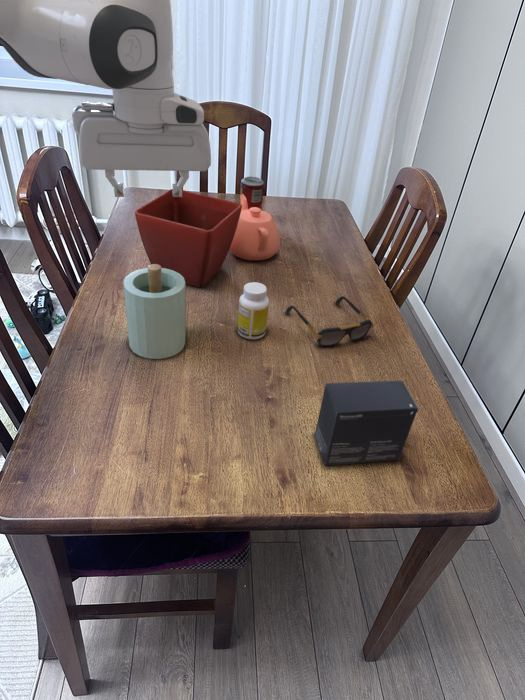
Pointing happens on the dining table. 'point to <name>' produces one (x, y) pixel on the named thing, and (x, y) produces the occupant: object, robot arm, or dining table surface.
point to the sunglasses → (339, 328)
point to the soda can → (252, 191)
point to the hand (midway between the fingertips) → (148, 196)
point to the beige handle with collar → (155, 278)
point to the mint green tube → (155, 314)
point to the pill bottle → (253, 311)
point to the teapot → (255, 234)
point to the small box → (364, 422)
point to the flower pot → (188, 233)
